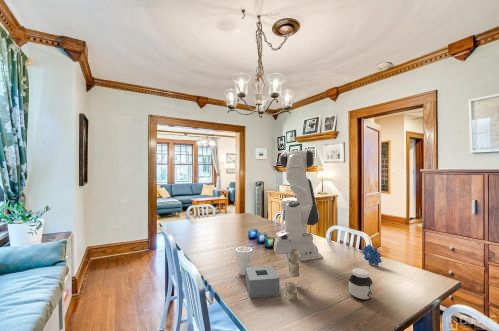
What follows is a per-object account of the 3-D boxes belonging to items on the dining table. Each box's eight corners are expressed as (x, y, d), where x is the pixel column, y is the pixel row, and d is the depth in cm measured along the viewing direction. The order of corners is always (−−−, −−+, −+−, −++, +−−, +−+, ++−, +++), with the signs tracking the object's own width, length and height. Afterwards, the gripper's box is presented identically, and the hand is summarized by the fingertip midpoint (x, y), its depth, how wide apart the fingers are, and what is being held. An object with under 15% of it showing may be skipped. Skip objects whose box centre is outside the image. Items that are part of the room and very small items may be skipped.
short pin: (293, 294, 111) (293, 281, 111) (297, 298, 107) (296, 285, 107) (285, 295, 110) (285, 282, 110) (288, 299, 106) (288, 286, 106)
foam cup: (239, 277, 128) (239, 253, 128) (233, 270, 136) (233, 248, 136) (255, 273, 132) (255, 250, 133) (247, 267, 141) (247, 245, 141)
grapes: (358, 263, 147) (358, 244, 147) (363, 260, 151) (363, 242, 151) (378, 269, 138) (378, 249, 138) (383, 266, 142) (383, 246, 142)
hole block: (271, 281, 123) (271, 265, 124) (279, 295, 110) (279, 278, 110) (245, 283, 121) (245, 267, 121) (249, 298, 107) (249, 280, 108)
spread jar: (359, 303, 103) (359, 277, 103) (340, 291, 113) (340, 267, 113) (378, 297, 108) (378, 272, 108) (358, 286, 118) (358, 263, 118)
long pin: (296, 273, 123) (296, 246, 123) (299, 276, 119) (298, 248, 119) (289, 273, 122) (288, 246, 122) (291, 277, 118) (291, 249, 118)
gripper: (310, 231, 125) (310, 257, 125) (272, 233, 122) (273, 260, 122) (315, 234, 119) (315, 262, 119) (276, 237, 116) (276, 265, 116)
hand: (293, 261), depth 121 cm, fingers closed on long pin, 4 cm apart
